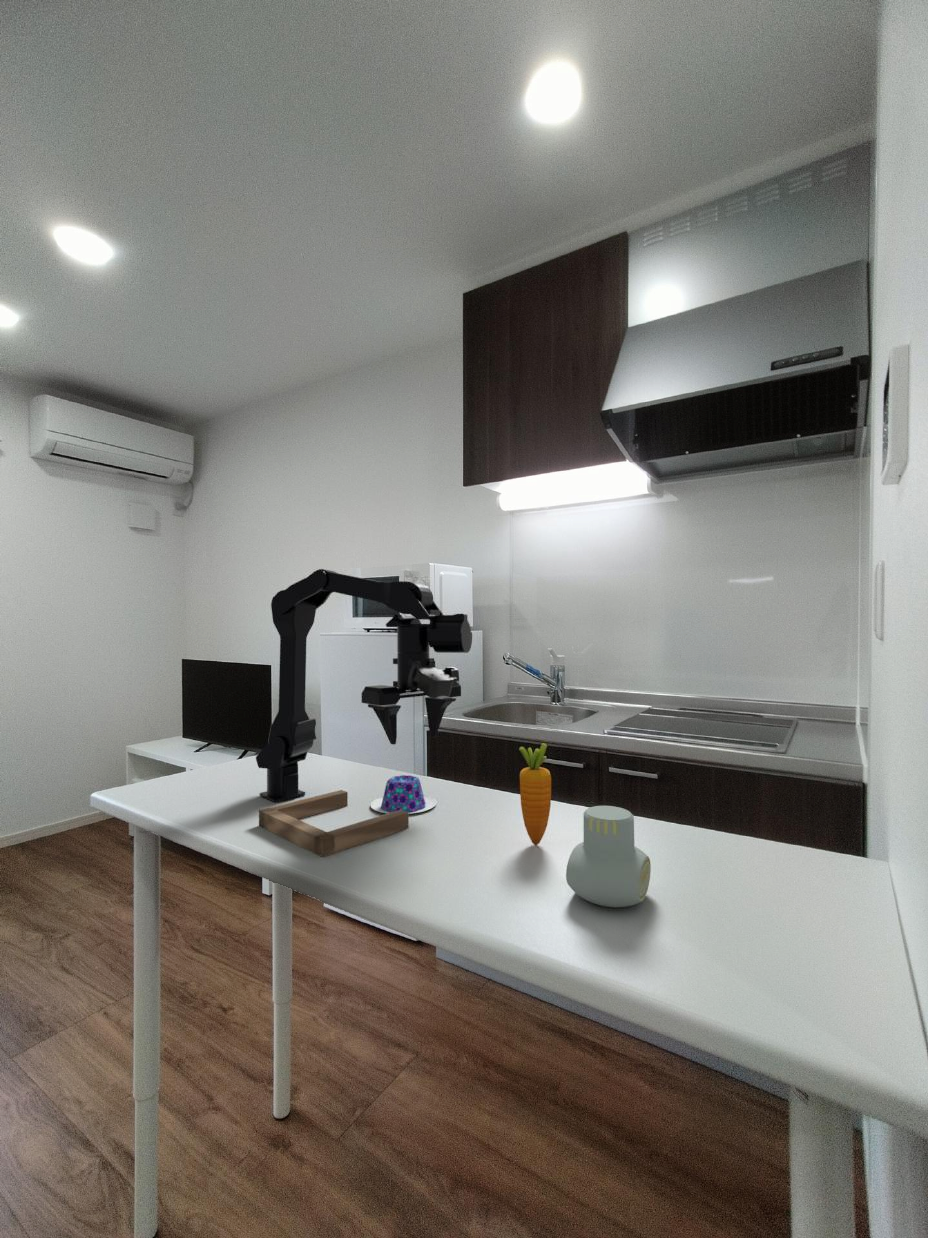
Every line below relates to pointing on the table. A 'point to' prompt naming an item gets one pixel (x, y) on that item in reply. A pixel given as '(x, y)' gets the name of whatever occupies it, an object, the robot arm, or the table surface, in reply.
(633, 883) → the air freshener
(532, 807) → the carrot
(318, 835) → the holder
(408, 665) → the robot arm
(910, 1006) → the table surface
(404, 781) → the pudding
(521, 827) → the table surface
